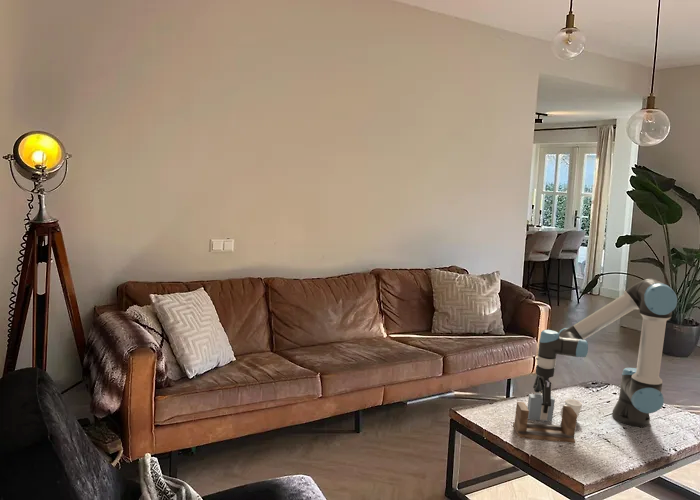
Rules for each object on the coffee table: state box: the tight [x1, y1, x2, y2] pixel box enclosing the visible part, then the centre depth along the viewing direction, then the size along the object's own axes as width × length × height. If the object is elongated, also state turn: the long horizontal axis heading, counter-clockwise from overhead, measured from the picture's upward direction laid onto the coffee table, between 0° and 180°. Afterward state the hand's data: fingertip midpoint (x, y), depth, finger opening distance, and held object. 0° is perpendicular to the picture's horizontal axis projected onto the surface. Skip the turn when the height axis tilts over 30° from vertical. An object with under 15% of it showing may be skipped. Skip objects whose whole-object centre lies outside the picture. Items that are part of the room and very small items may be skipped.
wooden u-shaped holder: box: [512, 401, 578, 444], centre depth 240 cm, size 22×12×11 cm, turn 86°
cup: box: [560, 398, 583, 422], centre depth 256 cm, size 7×10×8 cm
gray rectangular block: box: [527, 393, 556, 422], centre depth 255 cm, size 10×4×10 cm, turn 86°
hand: (539, 412), depth 256 cm, fingers open, 13 cm apart
